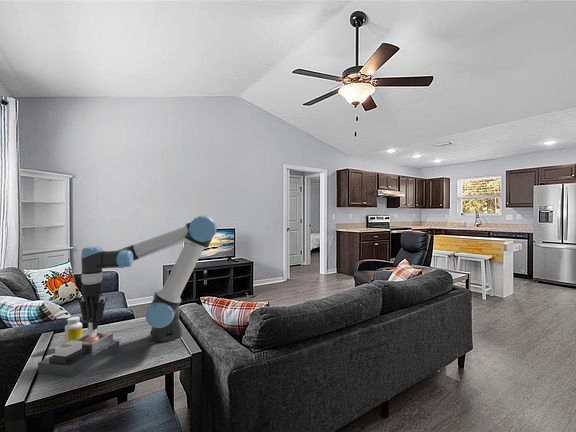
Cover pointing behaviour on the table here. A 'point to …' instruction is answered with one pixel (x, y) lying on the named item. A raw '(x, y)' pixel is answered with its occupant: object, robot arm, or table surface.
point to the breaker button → (92, 339)
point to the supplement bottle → (73, 329)
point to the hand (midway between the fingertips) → (92, 336)
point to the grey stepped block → (80, 356)
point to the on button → (68, 348)
